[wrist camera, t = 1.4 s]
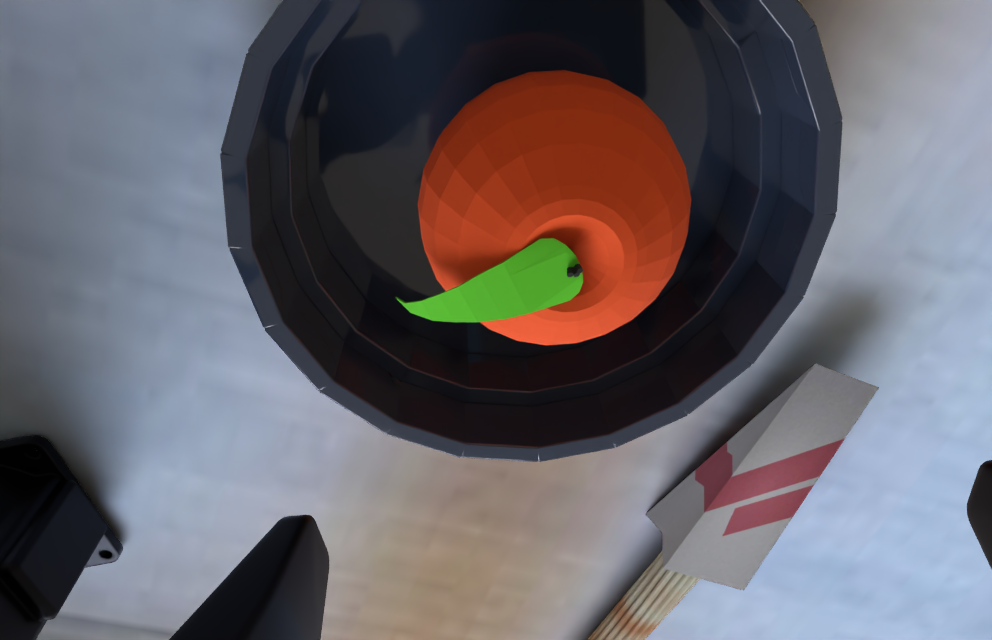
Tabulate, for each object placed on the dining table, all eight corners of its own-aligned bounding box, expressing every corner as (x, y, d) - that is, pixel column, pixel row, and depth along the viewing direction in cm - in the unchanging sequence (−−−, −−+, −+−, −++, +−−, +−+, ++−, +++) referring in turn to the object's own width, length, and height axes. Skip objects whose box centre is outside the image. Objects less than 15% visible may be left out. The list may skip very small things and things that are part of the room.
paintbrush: (914, 420, 22) (616, 716, 32) (873, 370, 25) (606, 660, 34) (824, 385, 21) (544, 701, 31) (789, 337, 24) (539, 645, 33)
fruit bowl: (356, 411, 25) (337, 500, 21) (181, -45, 17) (101, -38, 13) (765, 332, 24) (825, 409, 20) (769, -182, 17) (865, -217, 13)
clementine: (456, 317, 23) (456, 459, 17) (348, 133, 20) (299, 225, 13) (680, 218, 21) (770, 334, 15) (604, 2, 18) (680, 39, 12)
